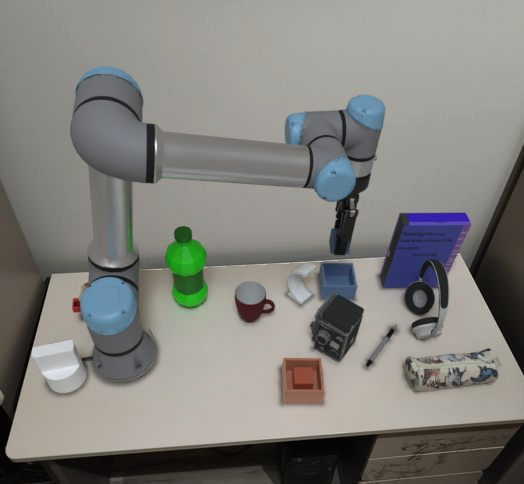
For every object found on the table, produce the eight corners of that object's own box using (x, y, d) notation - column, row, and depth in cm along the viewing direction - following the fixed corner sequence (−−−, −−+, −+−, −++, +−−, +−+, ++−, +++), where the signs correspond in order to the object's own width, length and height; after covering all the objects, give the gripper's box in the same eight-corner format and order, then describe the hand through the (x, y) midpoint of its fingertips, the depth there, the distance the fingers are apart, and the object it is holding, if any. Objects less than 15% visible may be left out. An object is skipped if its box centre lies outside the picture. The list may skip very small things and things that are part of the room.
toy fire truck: (99, 290, 137) (91, 266, 129) (93, 329, 128) (84, 306, 121) (86, 291, 136) (78, 267, 129) (80, 330, 128) (70, 307, 120)
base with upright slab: (85, 357, 122) (72, 329, 113) (87, 388, 117) (74, 361, 108) (48, 365, 121) (32, 337, 111) (48, 396, 115) (31, 369, 106)
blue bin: (321, 299, 137) (323, 286, 133) (318, 275, 143) (321, 262, 139) (353, 299, 138) (357, 286, 134) (349, 275, 144) (353, 262, 139)
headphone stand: (300, 304, 136) (305, 275, 127) (285, 292, 138) (288, 263, 129) (311, 296, 138) (316, 266, 129) (296, 284, 141) (300, 254, 131)
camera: (322, 322, 132) (330, 285, 121) (356, 341, 129) (368, 305, 117) (301, 347, 127) (307, 311, 115) (337, 368, 123) (347, 333, 111)
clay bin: (283, 402, 116) (284, 391, 112) (281, 369, 122) (283, 357, 118) (321, 403, 117) (324, 391, 112) (318, 370, 122) (321, 358, 118)
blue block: (330, 253, 123) (333, 240, 119) (329, 241, 126) (331, 228, 122) (348, 254, 123) (351, 240, 119) (346, 241, 126) (349, 228, 122)
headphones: (442, 350, 127) (469, 301, 112) (410, 350, 127) (433, 301, 112) (426, 295, 140) (448, 243, 124) (396, 294, 140) (416, 243, 124)
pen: (364, 365, 124) (365, 362, 123) (394, 324, 132) (395, 321, 131) (369, 368, 123) (370, 365, 122) (398, 327, 132) (399, 324, 131)
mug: (273, 305, 135) (275, 280, 128) (274, 328, 130) (276, 304, 123) (234, 305, 135) (234, 281, 127) (235, 328, 130) (234, 304, 122)
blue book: (437, 275, 145) (465, 211, 127) (441, 287, 142) (471, 224, 124) (379, 275, 144) (399, 212, 126) (382, 288, 141) (404, 224, 123)
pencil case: (478, 361, 126) (493, 339, 118) (492, 390, 120) (508, 369, 113) (396, 369, 123) (406, 347, 116) (406, 399, 118) (418, 378, 110)
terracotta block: (293, 393, 118) (294, 383, 114) (291, 376, 120) (293, 367, 117) (311, 393, 118) (313, 383, 114) (310, 376, 121) (312, 367, 117)
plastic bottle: (169, 312, 132) (157, 245, 113) (176, 284, 139) (165, 216, 120) (206, 315, 132) (200, 248, 113) (211, 286, 139) (206, 218, 120)
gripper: (377, 194, 101) (357, 272, 119) (365, 146, 112) (348, 224, 130) (341, 194, 100) (326, 271, 118) (333, 146, 112) (320, 223, 130)
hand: (338, 246), depth 124 cm, fingers closed on blue block, 4 cm apart
